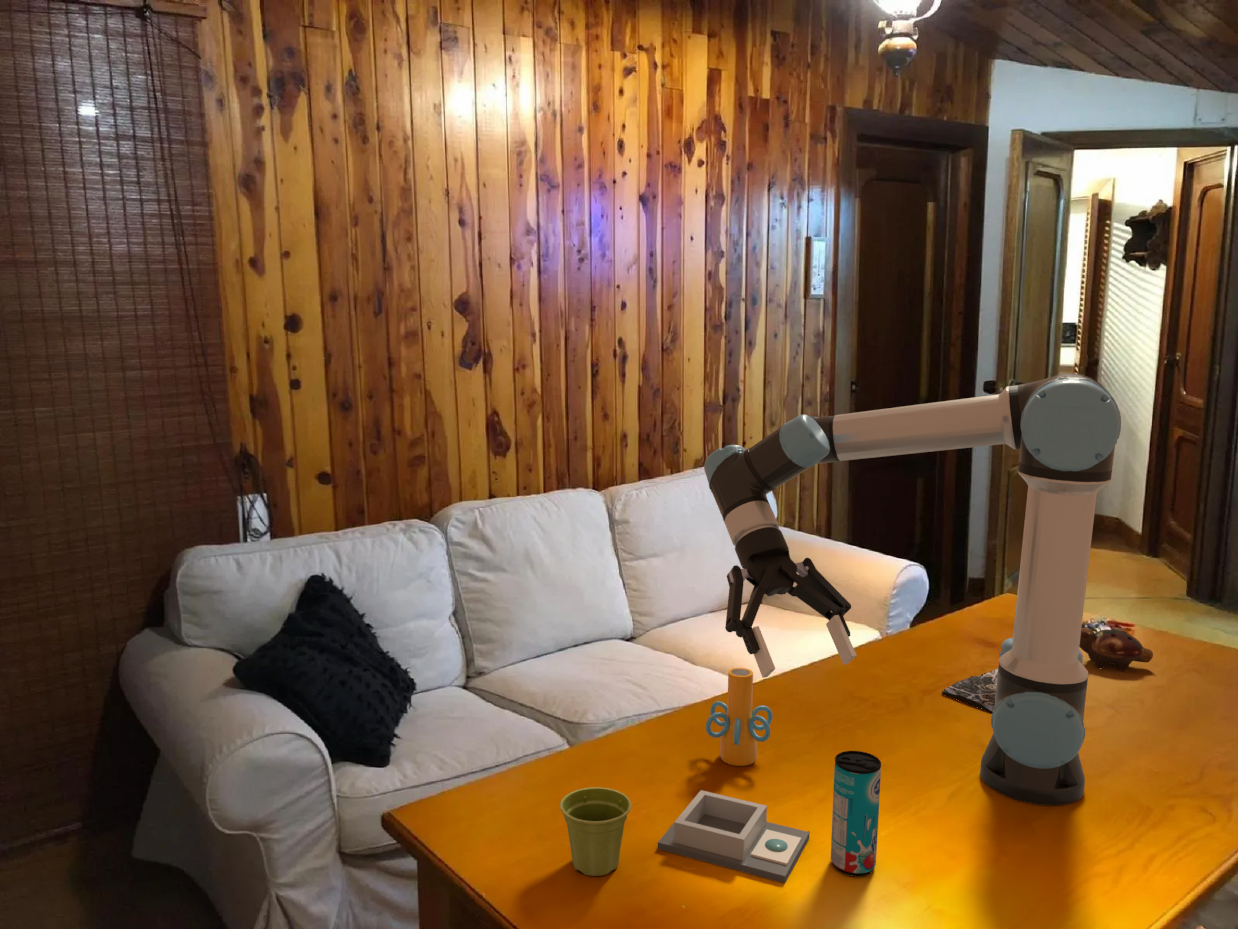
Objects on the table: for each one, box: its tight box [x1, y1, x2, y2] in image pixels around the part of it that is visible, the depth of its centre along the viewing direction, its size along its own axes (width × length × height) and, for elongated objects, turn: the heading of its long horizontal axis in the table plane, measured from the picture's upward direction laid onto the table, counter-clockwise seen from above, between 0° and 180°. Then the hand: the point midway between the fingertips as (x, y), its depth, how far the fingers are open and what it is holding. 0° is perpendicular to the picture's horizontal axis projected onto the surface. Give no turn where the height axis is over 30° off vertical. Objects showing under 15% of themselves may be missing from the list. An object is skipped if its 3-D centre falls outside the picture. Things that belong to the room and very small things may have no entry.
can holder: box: [657, 789, 810, 884], centre depth 135 cm, size 18×12×4 cm, turn 64°
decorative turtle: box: [1079, 627, 1154, 672], centre depth 204 cm, size 10×15×8 cm, turn 82°
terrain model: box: [941, 668, 998, 714], centre depth 188 cm, size 20×15×3 cm
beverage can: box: [829, 750, 882, 877], centre depth 129 cm, size 6×6×15 cm
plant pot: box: [559, 786, 632, 877], centre depth 129 cm, size 9×9×9 cm
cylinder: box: [705, 667, 773, 767], centre depth 160 cm, size 12×10×15 cm
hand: (810, 667), depth 136 cm, fingers open, 13 cm apart
